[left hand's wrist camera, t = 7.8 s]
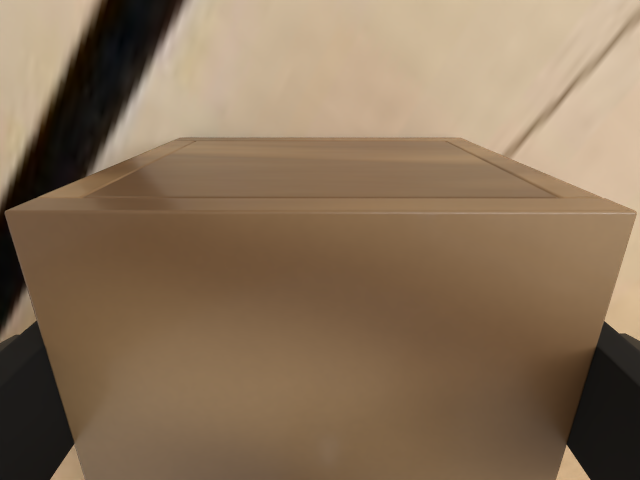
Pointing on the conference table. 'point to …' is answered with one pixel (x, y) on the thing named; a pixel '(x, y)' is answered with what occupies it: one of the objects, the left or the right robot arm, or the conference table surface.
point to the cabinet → (320, 309)
